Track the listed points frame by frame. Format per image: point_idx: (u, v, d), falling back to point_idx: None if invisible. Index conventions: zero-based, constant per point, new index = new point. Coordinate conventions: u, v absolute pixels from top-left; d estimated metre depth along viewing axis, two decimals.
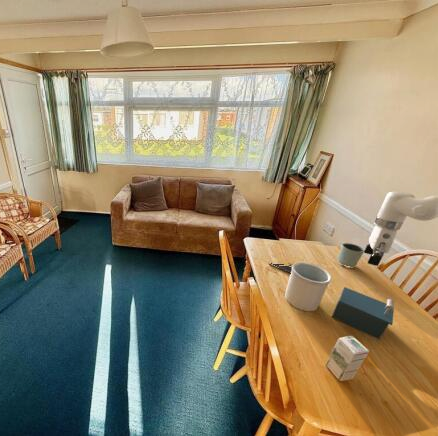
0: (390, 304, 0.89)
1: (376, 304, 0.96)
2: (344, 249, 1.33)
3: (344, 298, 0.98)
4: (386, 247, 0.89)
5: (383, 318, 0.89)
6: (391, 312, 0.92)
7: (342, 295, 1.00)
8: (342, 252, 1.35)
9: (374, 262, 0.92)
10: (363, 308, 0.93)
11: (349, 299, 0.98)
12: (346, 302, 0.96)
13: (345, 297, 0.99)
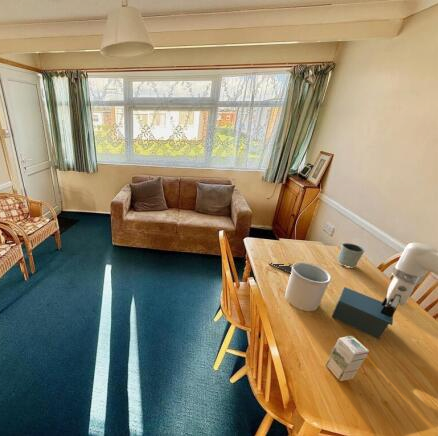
0: None
1: (376, 304, 0.96)
2: (344, 249, 1.33)
3: (344, 298, 0.98)
4: (402, 300, 0.84)
5: (383, 318, 0.89)
6: None
7: (342, 295, 1.00)
8: (342, 252, 1.35)
9: (387, 313, 0.89)
10: (363, 308, 0.93)
11: (349, 299, 0.98)
12: (346, 302, 0.96)
13: (345, 297, 0.99)
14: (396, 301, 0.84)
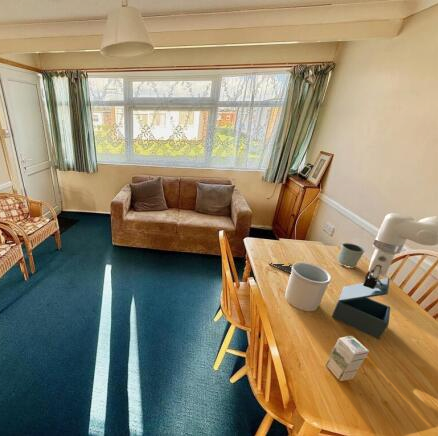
0: None
1: None
2: (344, 249, 1.33)
3: (342, 296, 0.99)
4: (382, 270, 0.85)
5: (378, 292, 0.88)
6: (385, 283, 0.90)
7: (341, 294, 1.00)
8: (342, 252, 1.35)
9: (369, 285, 0.90)
10: (359, 295, 0.93)
11: (347, 294, 0.98)
12: (345, 298, 0.96)
13: (344, 294, 0.99)
14: (377, 271, 0.86)
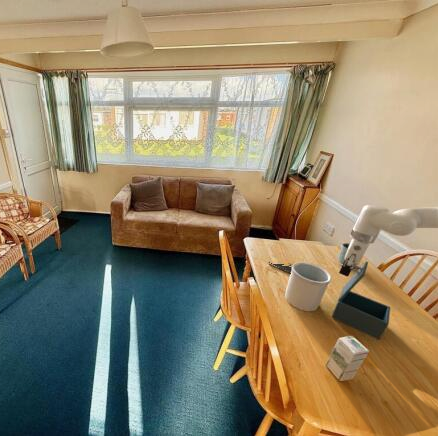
0: None
1: (357, 273, 0.97)
2: (344, 249, 1.33)
3: (340, 295, 0.99)
4: (356, 259, 0.90)
5: (358, 277, 0.91)
6: (363, 267, 0.94)
7: (340, 294, 1.01)
8: (342, 252, 1.35)
9: (344, 272, 0.95)
10: (349, 287, 0.95)
11: (343, 291, 0.99)
12: (341, 295, 0.97)
13: (341, 293, 1.00)
14: (351, 260, 0.90)
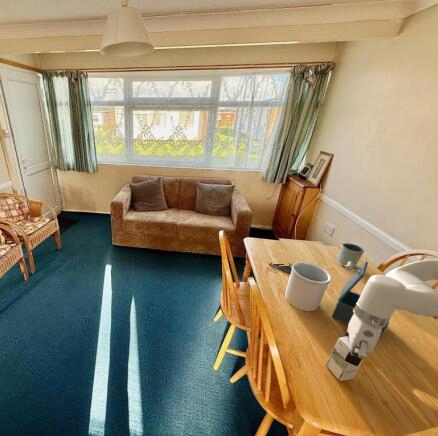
0: None
1: (357, 273, 0.97)
2: (344, 249, 1.33)
3: (340, 295, 0.99)
4: (368, 347, 0.67)
5: (358, 277, 0.91)
6: (363, 267, 0.94)
7: (340, 294, 1.01)
8: (342, 252, 1.35)
9: (353, 362, 0.71)
10: (349, 287, 0.95)
11: (343, 291, 0.99)
12: (341, 295, 0.97)
13: (341, 293, 1.00)
14: (364, 348, 0.66)
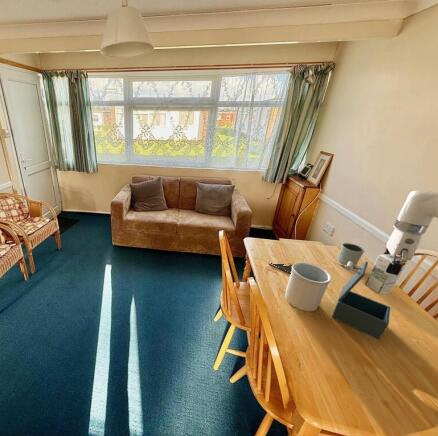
0: None
1: (357, 273, 0.97)
2: (344, 249, 1.33)
3: (340, 295, 0.99)
4: (409, 254, 0.78)
5: (358, 277, 0.91)
6: (363, 267, 0.94)
7: (340, 294, 1.01)
8: (342, 252, 1.35)
9: (394, 271, 0.81)
10: (349, 287, 0.95)
11: (343, 291, 0.99)
12: (341, 295, 0.97)
13: (341, 293, 1.00)
14: (405, 254, 0.77)
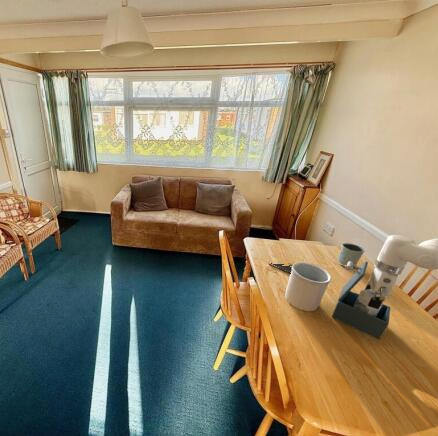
0: None
1: (357, 273, 0.97)
2: (344, 249, 1.33)
3: (340, 295, 0.99)
4: (387, 291, 0.86)
5: (358, 277, 0.91)
6: (363, 267, 0.94)
7: (340, 294, 1.01)
8: (342, 252, 1.35)
9: (374, 305, 0.90)
10: (349, 287, 0.95)
11: (343, 291, 0.99)
12: (341, 295, 0.97)
13: (341, 293, 1.00)
14: (384, 291, 0.86)
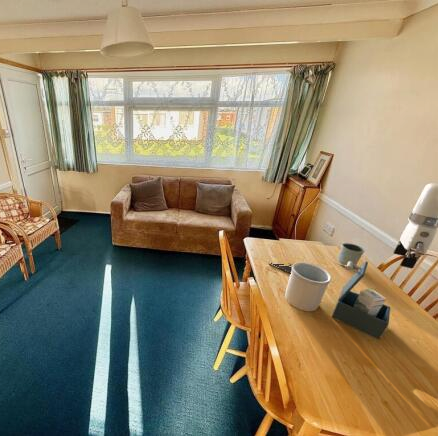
0: None
1: (357, 273, 0.97)
2: (344, 249, 1.33)
3: (340, 295, 0.99)
4: (424, 247, 0.78)
5: (358, 277, 0.91)
6: (363, 267, 0.94)
7: (340, 294, 1.01)
8: (342, 252, 1.35)
9: (409, 264, 0.81)
10: (349, 287, 0.95)
11: (343, 291, 0.99)
12: (341, 295, 0.97)
13: (341, 293, 1.00)
14: (421, 247, 0.77)
